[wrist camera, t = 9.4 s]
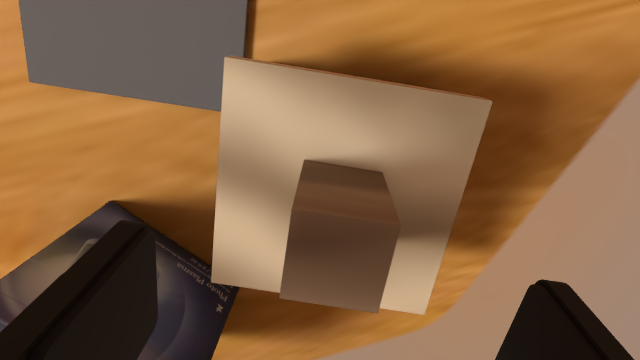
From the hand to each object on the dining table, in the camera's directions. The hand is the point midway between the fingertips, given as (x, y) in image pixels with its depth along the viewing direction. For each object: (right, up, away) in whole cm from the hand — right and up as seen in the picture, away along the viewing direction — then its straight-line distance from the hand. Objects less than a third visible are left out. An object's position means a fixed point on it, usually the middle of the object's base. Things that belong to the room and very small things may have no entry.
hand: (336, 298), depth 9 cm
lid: (0, +2, +9) cm, 9 cm away
